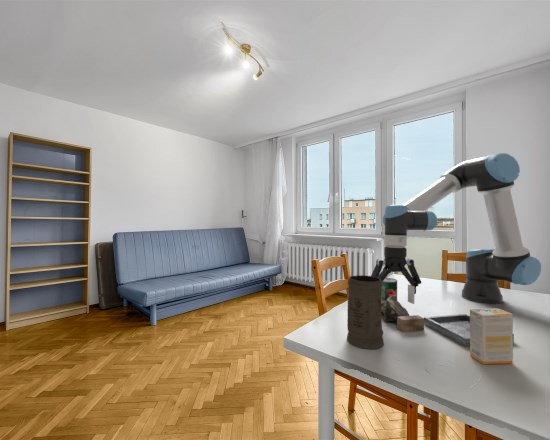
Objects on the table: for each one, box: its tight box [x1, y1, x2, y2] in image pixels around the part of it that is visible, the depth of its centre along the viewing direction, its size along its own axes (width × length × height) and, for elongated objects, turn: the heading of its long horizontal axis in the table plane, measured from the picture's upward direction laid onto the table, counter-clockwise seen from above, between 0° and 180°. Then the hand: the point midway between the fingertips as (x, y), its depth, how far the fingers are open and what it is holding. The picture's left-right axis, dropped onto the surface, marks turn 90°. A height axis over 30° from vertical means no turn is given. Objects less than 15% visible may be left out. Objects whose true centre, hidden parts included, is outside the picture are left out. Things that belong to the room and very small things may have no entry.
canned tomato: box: [381, 277, 398, 301], centre depth 116 cm, size 8×8×11 cm
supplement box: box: [469, 308, 514, 365], centre depth 72 cm, size 8×5×13 cm, turn 92°
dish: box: [423, 313, 515, 348], centre depth 88 cm, size 17×17×2 cm
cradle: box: [381, 300, 425, 333], centre depth 99 cm, size 8×20×4 cm, turn 10°
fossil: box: [381, 296, 411, 323], centre depth 99 cm, size 11×9×10 cm
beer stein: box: [346, 274, 385, 350], centre depth 84 cm, size 15×11×20 cm
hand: (394, 303), depth 99 cm, fingers open, 13 cm apart
